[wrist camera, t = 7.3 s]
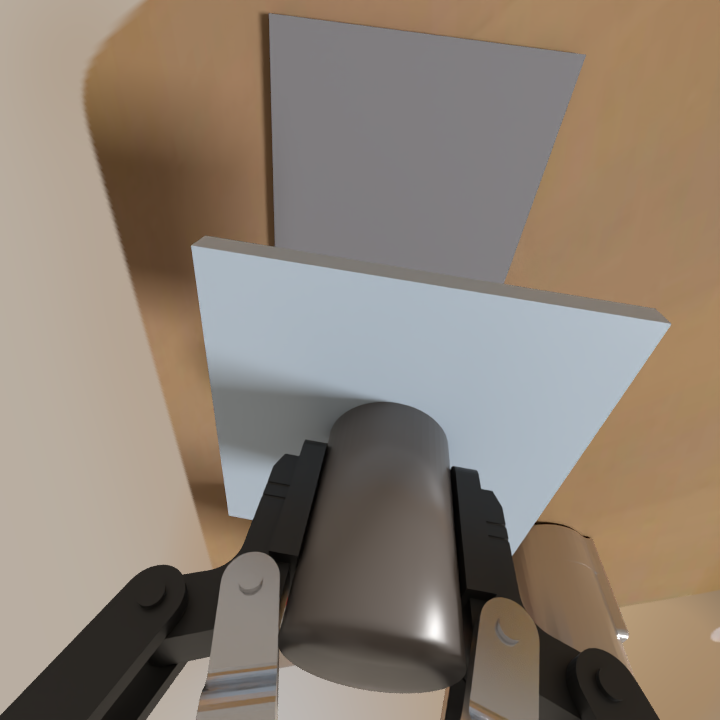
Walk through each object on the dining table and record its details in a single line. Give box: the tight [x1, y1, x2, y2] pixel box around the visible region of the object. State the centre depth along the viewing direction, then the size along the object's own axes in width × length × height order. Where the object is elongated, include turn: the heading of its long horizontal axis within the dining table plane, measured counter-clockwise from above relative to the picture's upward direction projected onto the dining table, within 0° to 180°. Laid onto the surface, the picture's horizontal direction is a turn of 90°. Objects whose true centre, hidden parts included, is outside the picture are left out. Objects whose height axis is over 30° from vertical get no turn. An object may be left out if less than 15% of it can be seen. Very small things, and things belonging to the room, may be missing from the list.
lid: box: [191, 236, 671, 693], centre depth 11 cm, size 12×12×7 cm
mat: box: [269, 13, 586, 284], centre depth 24 cm, size 16×14×1 cm
